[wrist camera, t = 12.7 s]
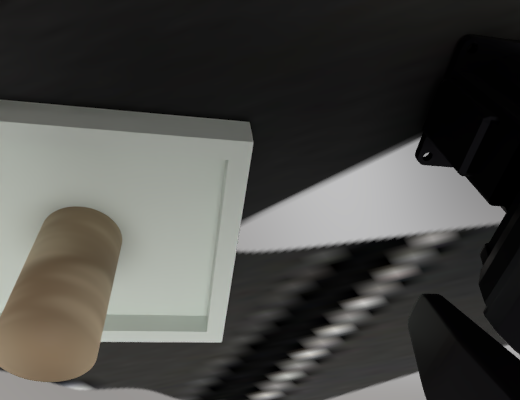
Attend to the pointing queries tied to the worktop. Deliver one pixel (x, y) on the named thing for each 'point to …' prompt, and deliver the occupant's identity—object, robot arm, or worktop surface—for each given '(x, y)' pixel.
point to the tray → (132, 207)
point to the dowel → (61, 297)
